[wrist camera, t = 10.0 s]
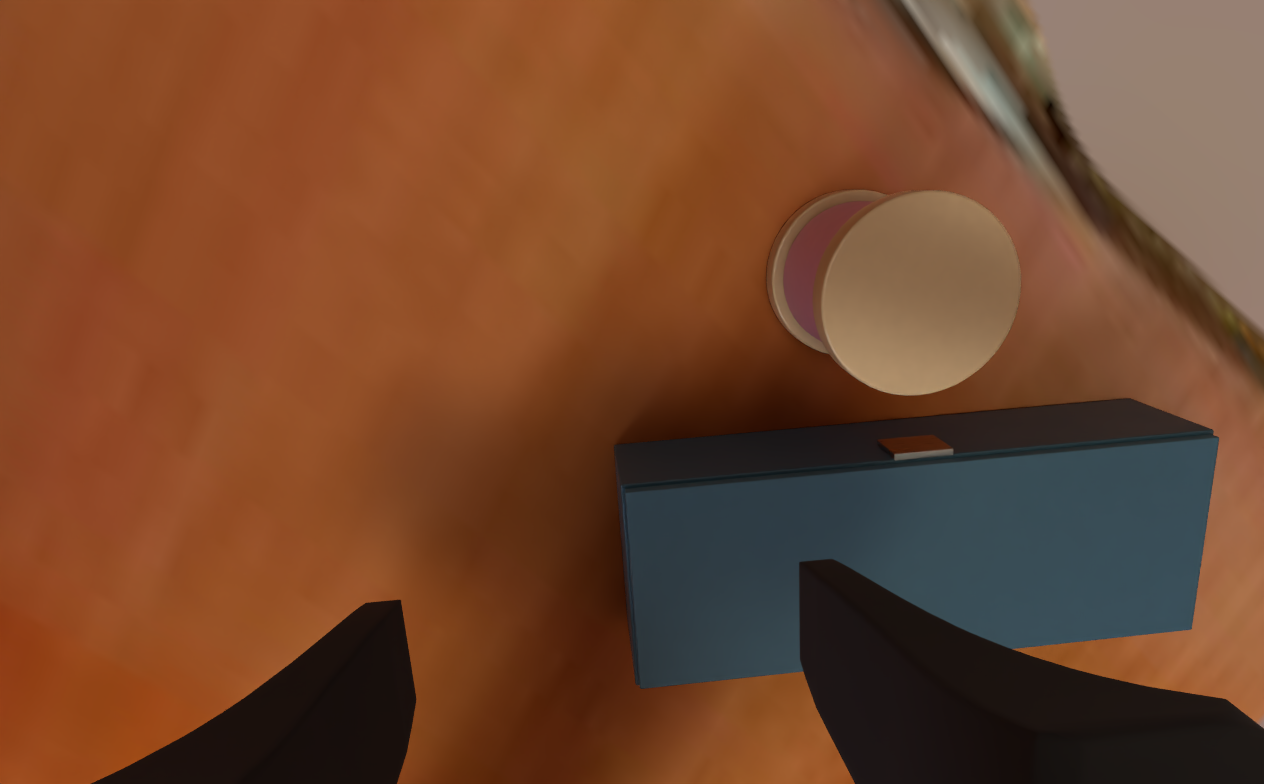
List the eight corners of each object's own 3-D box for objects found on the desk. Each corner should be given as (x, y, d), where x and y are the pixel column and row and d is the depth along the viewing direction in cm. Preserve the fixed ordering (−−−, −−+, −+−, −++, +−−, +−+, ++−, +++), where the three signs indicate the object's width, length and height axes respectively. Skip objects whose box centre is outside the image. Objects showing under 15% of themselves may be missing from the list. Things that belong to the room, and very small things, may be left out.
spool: (920, 344, 22) (1015, 387, 18) (767, 357, 22) (821, 404, 17) (925, 184, 21) (1029, 183, 16) (763, 195, 21) (821, 197, 16)
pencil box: (1130, 392, 23) (1224, 427, 20) (1111, 572, 25) (1195, 632, 22) (613, 439, 22) (620, 484, 19) (627, 622, 24) (636, 693, 21)
